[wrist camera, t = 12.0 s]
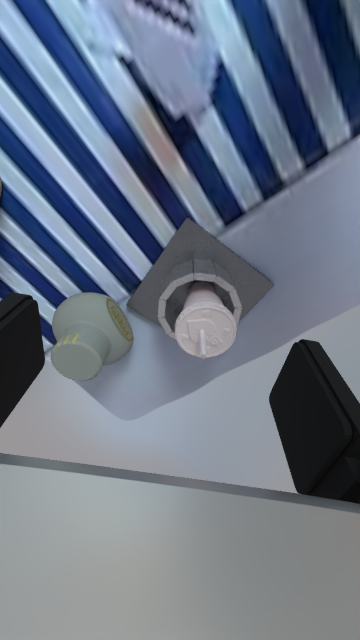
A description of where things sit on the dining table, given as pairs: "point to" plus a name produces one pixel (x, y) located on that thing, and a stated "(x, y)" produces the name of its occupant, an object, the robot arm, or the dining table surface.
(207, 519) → the robot arm
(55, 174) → the dining table surface
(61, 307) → the air freshener
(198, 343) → the smoothie
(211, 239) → the duct collar
